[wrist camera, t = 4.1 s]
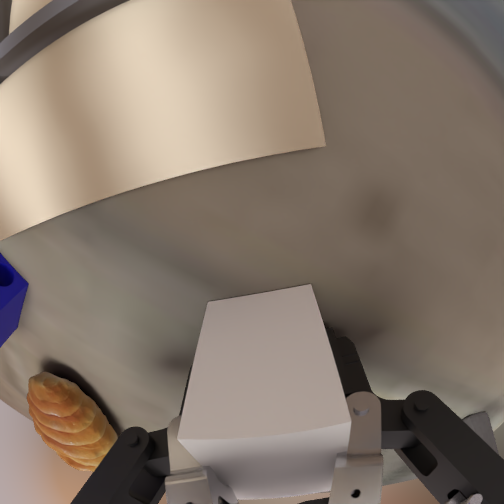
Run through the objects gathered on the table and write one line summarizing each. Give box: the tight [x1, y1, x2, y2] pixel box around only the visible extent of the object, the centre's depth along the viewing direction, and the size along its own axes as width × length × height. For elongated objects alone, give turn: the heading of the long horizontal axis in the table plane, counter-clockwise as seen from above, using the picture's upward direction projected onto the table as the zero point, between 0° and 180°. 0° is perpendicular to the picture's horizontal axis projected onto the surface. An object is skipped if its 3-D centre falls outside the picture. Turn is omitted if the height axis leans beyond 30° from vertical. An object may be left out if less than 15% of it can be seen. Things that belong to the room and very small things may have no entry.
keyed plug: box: [177, 284, 351, 500], centre depth 9 cm, size 4×7×6 cm, turn 12°
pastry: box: [27, 372, 118, 472], centre depth 13 cm, size 9×7×4 cm
